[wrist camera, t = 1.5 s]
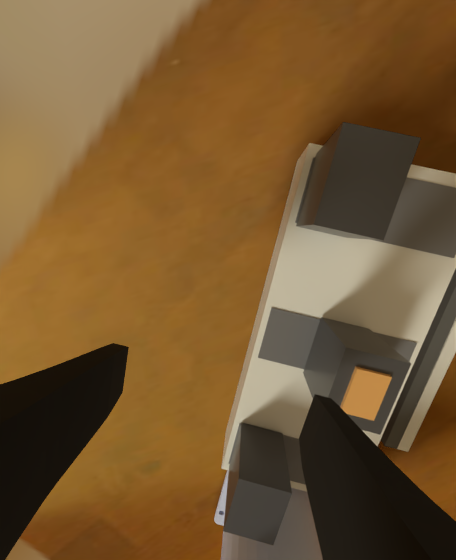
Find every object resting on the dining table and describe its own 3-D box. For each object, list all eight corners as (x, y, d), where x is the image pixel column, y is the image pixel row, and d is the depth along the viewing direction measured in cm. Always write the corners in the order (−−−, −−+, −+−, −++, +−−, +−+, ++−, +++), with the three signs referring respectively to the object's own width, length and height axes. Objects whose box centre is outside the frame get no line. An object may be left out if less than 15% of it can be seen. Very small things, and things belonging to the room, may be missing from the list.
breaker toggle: (348, 384, 16) (382, 438, 12) (302, 372, 16) (321, 422, 12) (369, 328, 15) (414, 365, 11) (321, 317, 15) (347, 349, 11)
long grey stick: (400, 441, 20) (408, 451, 19) (378, 435, 20) (384, 445, 19) (485, 257, 17) (500, 258, 16) (458, 250, 17) (470, 252, 16)
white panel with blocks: (335, 460, 21) (381, 583, 14) (226, 430, 22) (213, 534, 14) (442, 191, 16) (603, 159, 9) (297, 160, 17) (334, 105, 9)
